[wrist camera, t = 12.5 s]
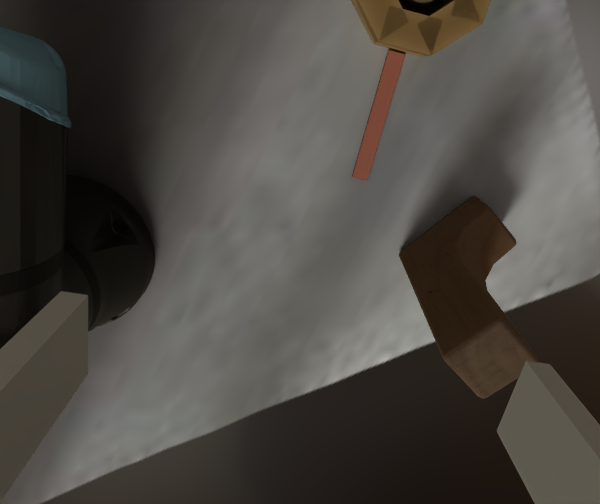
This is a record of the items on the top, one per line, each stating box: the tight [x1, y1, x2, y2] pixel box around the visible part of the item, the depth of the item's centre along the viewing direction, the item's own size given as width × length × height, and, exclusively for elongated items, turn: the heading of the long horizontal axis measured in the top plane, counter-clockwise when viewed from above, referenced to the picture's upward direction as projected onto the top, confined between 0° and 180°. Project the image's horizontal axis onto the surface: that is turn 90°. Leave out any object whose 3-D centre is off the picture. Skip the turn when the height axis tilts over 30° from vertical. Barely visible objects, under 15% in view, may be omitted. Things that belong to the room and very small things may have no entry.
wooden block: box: [399, 196, 538, 398], centre depth 37 cm, size 9×4×18 cm, turn 132°
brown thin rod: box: [352, 50, 405, 180], centre depth 42 cm, size 11×1×1 cm, turn 166°
